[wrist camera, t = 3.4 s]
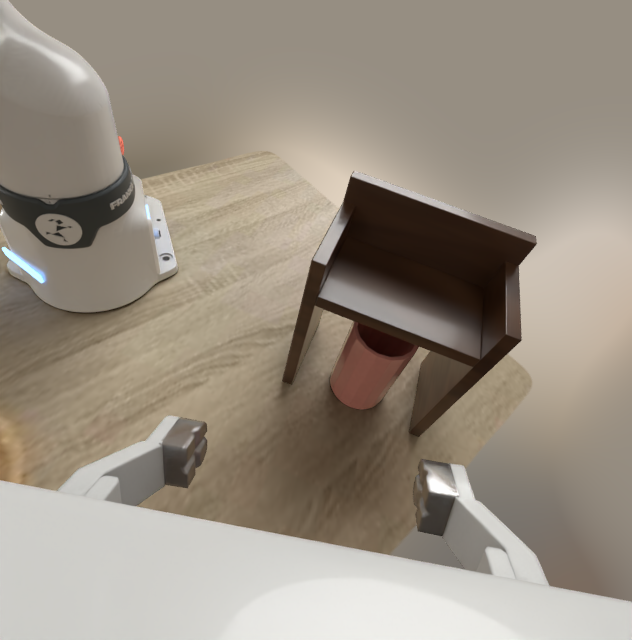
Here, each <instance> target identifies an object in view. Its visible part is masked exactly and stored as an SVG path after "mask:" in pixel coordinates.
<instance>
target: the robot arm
mask: <svg viewBox="0 0 632 640" xmlns="http://www.w3.org/2000/svg"><path fill="white" fill-rule="evenodd" d="M123 154H124V145H123V140H122V138H121V137H120V136H118V135H117V131H116V126H115V121H114V117H113V112H112V108H111V103H110V99H109V94H108V91H107V89H106V87H105V85H104V83H103V81H102V80H101V78H100V77H99V76H98V74H97V73H96V72H95V70H94V69H93V68H92V67H91V66H90V65H89V64H88V62H87V61H86V60H85V59H84V58H83V57H81V56H80V55H79V54H78V53H77V52H75V51H74V50H73V49H71V48H70V47H68V46H67V45H65V44H63V43H61V42H60V41H58V40H56V39H54V38H53V37H51V36H49V35H47V34H46V33H44V32H42V31H41V30H39V29H38V28H37V27H35V26H34V25H32V24H31V23H30V22H29V21H28V20H27V19H26V18H24V17H23V16H22V15H21V14H20V13H19V12H18V11H17V10H16V9H15V8H14V7H13V5H12V4H11V3H10V2H9V1H8V0H0V203H1V205H2V207H3V209H2V210H1V213H0V228H1V230H2V232H3V235H4V237H5V239H6V241H7V244H8V246H9V248H10V250H11V252H10V251H9V250H8V249H6V248H5V247H3V248H2V250H3V251H4V253H5V255H6V256H8V257H9V258H10V260H9V261H8V263H7V268H8V270H9V273H10V274H11V275H12V276H14V277H16V278H18V279H20V280H22V281H24V282H26V283H28V284H29V285H30V286H31V288H32V289H33V291H34V292H35V294H36V295H37V296H38V297H39V298H40V299H42V300H43V301H44V302H46V303H47V304H49V305H51V306H54V307H56V308H59V309H62V310H67V311H72V312H100V311H106V310H111V309H115V308H118V307H121V306H124V305H126V304H128V303H131V302H133V301H134V300H136V299H138V298H139V297H141V296H142V295H144V294H145V293H146V292H147V291H148V290H149V289H150V288H151V287H152V286H153V285H155V284H156V283H157V282H159V281H161V280H163V279H166V278H168V277H170V276H172V275H174V274H175V273H176V272H177V271H178V265H177V261H176V257H175V253H174V249H173V246H172V242H171V238H170V234H169V230H168V226H167V223H166V219H165V215H164V211H163V208H162V204H161V202H160V201H159V200H157V199H155V198H152V197H150V196H146V195H144V191H143V186H142V181H141V180H140V179H139V178H138V177H137V176H135V175H133V174H132V172H131V169H130V167H129V165H128V163H127V161H126V159H125V157H124V156H123ZM166 260H168V261H166ZM206 432H207V424H206V422H202V421H197V420H192V419H187V418H182V417H181V418H180V417H176V416H171V415H168V416H166V417H165V418H164V419H163V420H162V422H161V423H160V424H159V425H158V426H157V428H156V429H155V430H154V431H153V432H152V434H151V435H150V436H149V437H148V438H147V440H146V441H145V442H144V441H140V442H138V443H136V444H133V445H131V446H129V447H127V448H124V449H122V450H120V451H118V452H115V453H113V454H111V455H109V456H106V457H104V458H102V459H99V460H97V461H95V462H93V463H90V464H88V465H86V466H84V467H81V468H79V469H78V470H77V471H76V472H75V473H74V474H73V475H72V476H71V477H70V478H69V479H68V480H67V481H66V482H65V483H64V484H63V485H62V486H61V487H60V488H59V489H58V490H57V491H53V490H48V489H43V488H38V487H33V486H28V485H22V484H17V483H12V482H7V481H2V480H0V640H632V602H631V601H625V600H620V599H615V598H609V597H605V596H599V595H594V594H589V593H584V592H578V591H573V590H568V589H562V588H558V587H552V586H549V584H548V582H547V580H546V577H545V575H544V572H543V570H542V568H541V566H540V563H539V561H538V559H537V557H536V555H535V554H534V553H533V552H532V551H531V550H530V549H529V548H528V547H527V546H526V545H525V544H524V543H523V542H522V541H521V540H520V539H519V538H518V537H517V536H516V535H515V534H514V533H512V532H511V531H510V530H509V529H508V528H507V527H506V526H505V525H504V524H503V523H502V522H501V521H500V520H499V519H498V518H497V517H496V516H495V515H494V514H493V513H492V512H491V511H489V510H488V509H487V508H486V507H485V506H484V505H483V504H482V503H481V502H480V501H476V500H475V497H474V494H473V491H472V488H471V485H470V482H469V479H468V476H467V473H466V470H465V467H464V466H463V465H457V464H450V463H449V464H448V463H442V462H436V461H430V460H424V459H421V460H420V462H419V466H418V471H419V475H417V476H416V477H415V481H414V487H413V501H414V505H415V506H416V507H417V511H416V514H415V515H416V522H417V529H418V531H420V532H424V533H429V534H434V535H439V536H443V537H442V538H443V539H444V541H445V542H446V543H447V545H448V546H449V548H450V549H451V551H452V552H453V553H454V555H455V556H456V558H457V559H458V561H459V562H460V563H461V564H462V566H463V568H464V569H465V570H464V569H459V568H454V567H448V566H443V565H438V564H433V563H427V562H422V561H416V560H411V559H406V558H401V557H396V556H391V555H386V554H380V553H375V552H370V551H365V550H360V549H355V548H350V547H344V546H339V545H334V544H329V543H324V542H319V541H313V540H308V539H303V538H298V537H292V536H287V535H282V534H277V533H271V532H266V531H261V530H256V529H250V528H245V527H240V526H235V525H230V524H224V523H219V522H214V521H209V520H204V519H199V518H193V517H188V516H183V515H178V514H173V513H167V512H162V511H157V510H152V509H147V508H142V507H136V506H137V505H138V504H140V503H141V502H142V501H144V500H145V499H147V498H148V497H150V496H151V495H153V494H154V493H155V492H157V491H158V490H160V489H161V488H163V487H164V486H165V485H171V486H177V487H183V488H188V486H189V485H190V483H191V481H192V480H193V478H194V476H195V468H197V467H199V466H201V464H202V462H203V460H204V457H205V454H206V450H207V440H206V438H205V437H204V435H205V434H206Z"/></svg>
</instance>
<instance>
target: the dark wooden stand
mask: <svg viewBox="0 0 632 640" xmlns="http://www.w3.org/2000/svg"><path fill="white" fill-rule="evenodd" d="M536 244H537V242H536V236H534V235H531V234H528V233H526V232H523V231H520V230H517V229H515V228H512V227H509V226H506V225H503V224H501V223H498V222H495V221H492V220H489V219H487V218H484V217H481V216H479V215H476V214H473V213H470V212H468V211H465V210H462V209H459V208H456V207H454V206H451V205H448V204H445V203H443V202H440V201H437V200H434V199H432V198H429V197H426V196H423V195H421V194H418V193H415V192H413V191H410V190H407V189H404V188H402V187H399V186H396V185H393V184H390V183H388V182H385V181H382V180H379V179H377V178H374V177H371V176H368V175H366V174H363V173H360V172H357V171H354V172H353V173H352V175H351V177H350V180H349V184H348V187H347V191H346V194H345V198H344V202H343V203H342V205H341V207H340V209H339V211H338V212H337V214H336V216H335V218H334V220H333V222H332V224H331V225H330V227H329V229H328V231H327V233H326V235H325V237H324V238H323V240H322V242H321V244H320V246H319V248H318V249H317V251H316V253H315V255H314V257H313V259H312V261H311V265H310V269H309V273H308V277H307V281H306V285H305V289H304V294H303V298H302V302H301V306H300V310H299V314H298V318H297V322H296V326H295V330H294V334H293V339H292V343H291V347H290V351H289V355H288V359H287V363H286V367H285V371H284V375H283V379H282V381H283V382H286V383H288V384H290V385H292V383H293V381H294V379H295V377H296V374H297V372H298V370H299V368H300V365H301V363H302V361H303V358H304V356H305V354H306V352H307V349H308V347H309V345H310V343H311V340H312V338H313V336H314V334H315V331H316V329H317V327H318V324H319V322H320V319H321V316H322V313H323V310H327V311H330V312H332V313H335V314H337V315H340V316H342V317H345V318H348V319H350V320H353V321H355V322H358V323H360V324H363V325H366V326H368V327H371V328H373V329H376V330H378V331H381V332H384V333H386V334H389V335H391V336H394V337H396V338H399V339H401V340H404V341H407V342H409V343H412V344H414V345H417V346H419V347H422V348H425V349H427V350H430V352H429V354H428V355H427V356H426V358H425V359H424V360H423V362H422V363H421V368H420V374H419V379H418V385H417V391H416V396H415V402H414V407H413V413H412V418H411V424H410V429H409V433H411V434H414V435H416V436H420V435H421V434H422V433H423V432H424V431H425V430H427V429H428V428H429V427H430V426H431V425H432V424H433V423H434V422H435V421H436V420H437V419H438V418H439V417H440V416H441V415H443V414H444V413H445V412H446V411H447V410H448V409H449V408H450V407H451V406H452V405H453V404H454V403H455V402H456V401H457V400H459V399H460V398H461V397H462V396H463V395H464V394H465V393H466V392H467V391H468V390H469V389H470V388H471V387H472V386H473V385H475V384H476V383H477V382H478V381H479V380H480V379H481V378H482V377H483V376H484V375H485V374H486V373H487V372H488V371H489V370H490V369H492V368H493V367H494V366H495V365H496V364H497V363H498V362H499V361H500V360H501V359H502V358H503V357H504V356H505V355H506V354H508V353H509V352H510V351H511V350H512V349H513V348H514V347H515V346H516V345H517V344H518V343H519V342H520V341H521V314H520V289H519V265H520V264H521V262H522V261H523V260H524V259H525V257H526V256H527V255H528V254H529V253H530V252H531V250H532V249H533V248H534V247H535V245H536Z"/></svg>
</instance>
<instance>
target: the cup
mask: <svg viewBox="0 0 632 640" xmlns="http://www.w3.org/2000/svg"><path fill="white" fill-rule="evenodd" d="M418 347H419V346H417V345H414V344H412V343H409V342H407V341H404V340H401V339H399V338H396V337H394V336H391V335H389V334H386V333H384V332H381V331H378V330H376V329H373V328H371V327H368V326H366V325H363V324H360V323H358V322H355V321H353V323H352V325H351V327H350V330H349V332H348V334H347V337H346V339H345V341H344V344H343V346H342V348H341V350H340V353H339V355H338V357H337V360H336V362H335V364H334V367H333V369H332V372H331V376H330V384H331V388H332V390H333V392H334V394H335V396H336V397H337V398H338V399H339V400H340V401H341V402H342V403H344V404H345V405H347V406H349V407H352V408H355V409H369V408H372V407H374V406H376V405H377V404H378V403H379V402H380V401H381V400H382V399H383V397H384V396H385V394H386V393H387V392H388V390H389V389H390V387H391V386H392V385H393V383H394V382H395V380H396V379H397V378H398V376H399V375H400V374H401V372H402V371H403V369H404V368H405V367H406V365H407V364H408V362H409V361H410V360H411V358H412V357H413V355H414V354H415V352H416V351H417V349H418Z"/></svg>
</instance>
